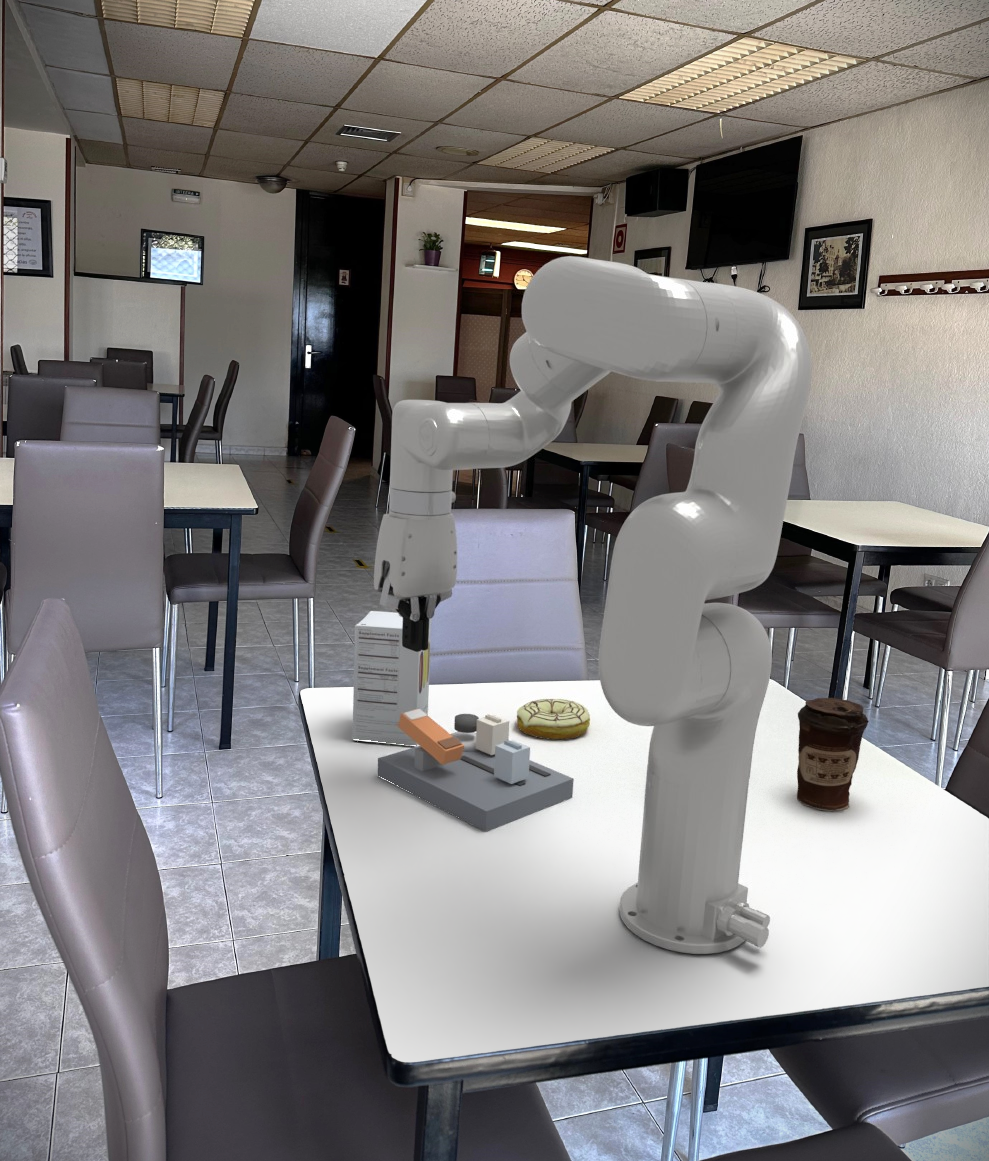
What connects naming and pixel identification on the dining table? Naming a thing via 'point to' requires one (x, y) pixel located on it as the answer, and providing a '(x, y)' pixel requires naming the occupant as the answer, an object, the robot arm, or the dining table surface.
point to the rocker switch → (431, 736)
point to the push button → (466, 723)
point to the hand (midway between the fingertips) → (414, 648)
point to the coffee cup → (828, 751)
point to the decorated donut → (553, 718)
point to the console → (474, 784)
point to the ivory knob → (491, 733)
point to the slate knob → (511, 761)
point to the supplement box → (386, 679)
